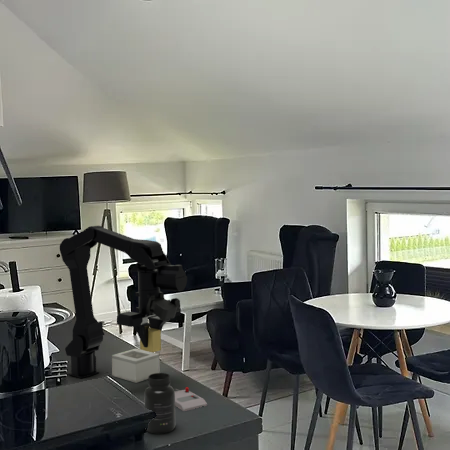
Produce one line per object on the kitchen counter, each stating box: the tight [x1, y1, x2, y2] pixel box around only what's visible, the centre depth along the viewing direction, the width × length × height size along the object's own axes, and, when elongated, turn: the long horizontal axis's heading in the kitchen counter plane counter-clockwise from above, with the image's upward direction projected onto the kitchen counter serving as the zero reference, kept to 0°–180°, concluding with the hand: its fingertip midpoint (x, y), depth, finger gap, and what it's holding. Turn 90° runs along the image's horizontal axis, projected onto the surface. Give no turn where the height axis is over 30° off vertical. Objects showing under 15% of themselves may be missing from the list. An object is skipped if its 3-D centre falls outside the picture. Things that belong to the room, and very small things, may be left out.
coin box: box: [111, 348, 161, 384], centre depth 176 cm, size 9×10×6 cm
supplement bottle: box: [143, 372, 176, 435], centre depth 138 cm, size 7×7×12 cm
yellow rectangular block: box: [139, 327, 162, 353], centre depth 167 cm, size 3×5×6 cm, turn 50°
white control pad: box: [174, 386, 208, 412], centre depth 155 cm, size 7×16×3 cm, turn 33°
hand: (150, 345), depth 167 cm, fingers closed on yellow rectangular block, 3 cm apart
